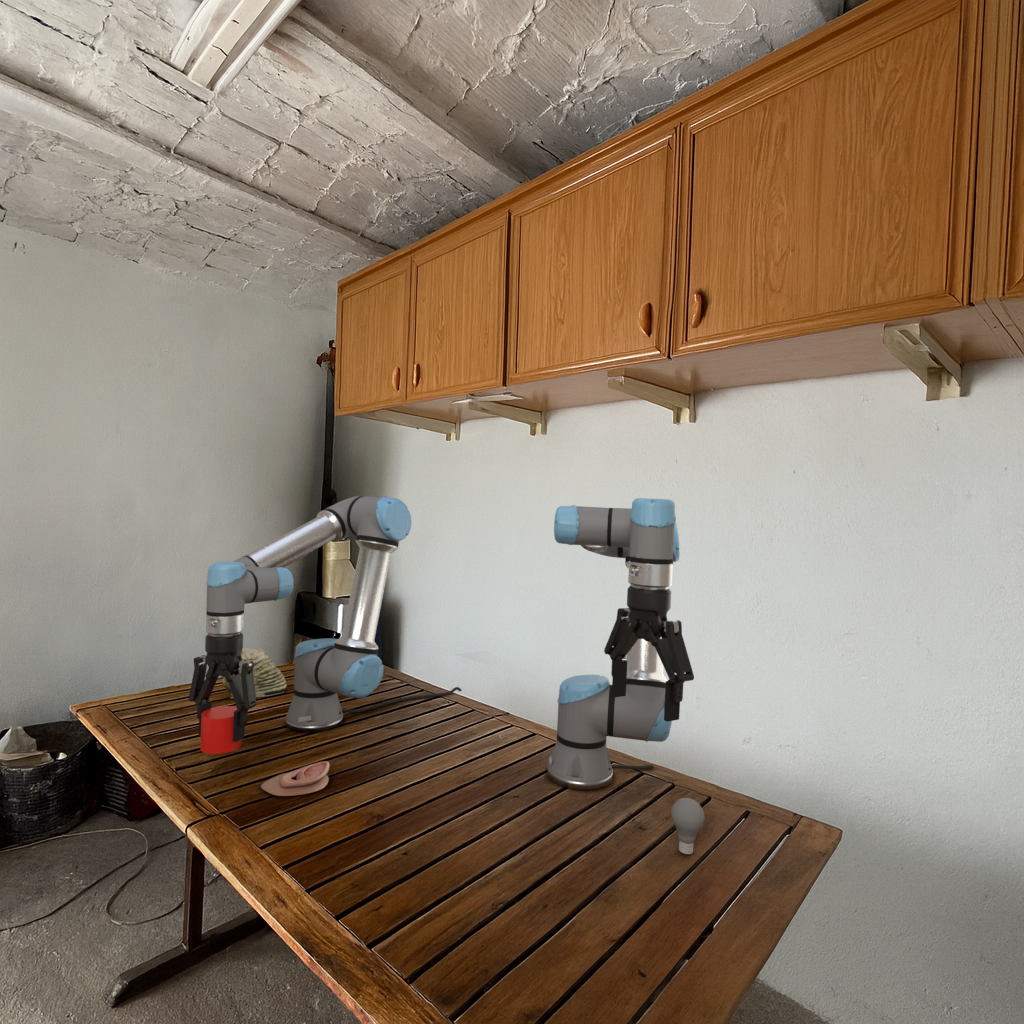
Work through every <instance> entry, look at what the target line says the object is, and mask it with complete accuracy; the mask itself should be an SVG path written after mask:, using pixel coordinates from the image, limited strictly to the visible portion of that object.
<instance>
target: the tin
mask: <svg viewBox="0 0 1024 1024" xmlns="http://www.w3.org/2000/svg"><path fill="white" fill-rule="evenodd" d="M236 710H237V707H236V705H235V706H234V705H232V706H231V705H223V706H222V705H221V706H215V707H211V708H210V709H207V710H205V711H204V712H202V714H201V736H200V749H199V750H200V751H201V752H202V753H204V754H210V755H221V754H227V753H230V752H233V751H236V750H238V749H239V748H241V747H242V739H241V740H239V741H237V742H233V723H234V711H236Z"/></svg>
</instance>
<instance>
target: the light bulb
mask: <svg viewBox="0 0 1024 1024" xmlns="http://www.w3.org/2000/svg"><path fill="white" fill-rule="evenodd" d="M670 816H671V821H672V823H673V825H674V827H675V829H676V833H677V838H678V843H679V844H678V850H679V852H680V853H682V854H684V855H692V854H693V853H694V844H695V843H694V842H695V841H696V838H697V835H698V834H699V832H700V830H701V829H702V827H703V826H704V823H705V818H706V817H705V812H704V809H703V807H702V806H701V805H700V803H699V802H697V800H695V799H693V798H690V797H682V798H680V799H677V800H676V801H675V803H674V804H673V805H672V807H671V810H670Z"/></svg>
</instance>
